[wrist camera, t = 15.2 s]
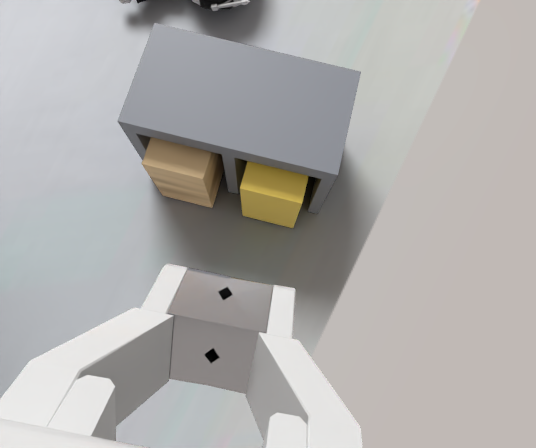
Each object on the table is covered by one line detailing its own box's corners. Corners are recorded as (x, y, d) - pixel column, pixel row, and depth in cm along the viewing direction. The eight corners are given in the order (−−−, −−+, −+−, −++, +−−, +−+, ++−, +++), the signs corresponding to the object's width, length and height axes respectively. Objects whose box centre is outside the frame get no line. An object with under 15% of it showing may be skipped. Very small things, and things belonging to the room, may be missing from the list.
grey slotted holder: (317, 213, 42) (337, 175, 32) (150, 172, 42) (117, 121, 32) (336, 132, 44) (360, 71, 34) (177, 93, 45) (154, 22, 34)
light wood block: (212, 208, 41) (202, 178, 34) (162, 195, 41) (141, 163, 34) (234, 134, 43) (229, 91, 36) (186, 123, 43) (172, 77, 36)
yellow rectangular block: (293, 228, 41) (302, 203, 33) (242, 215, 41) (239, 188, 33) (311, 153, 43) (323, 113, 35) (262, 141, 43) (264, 99, 35)
